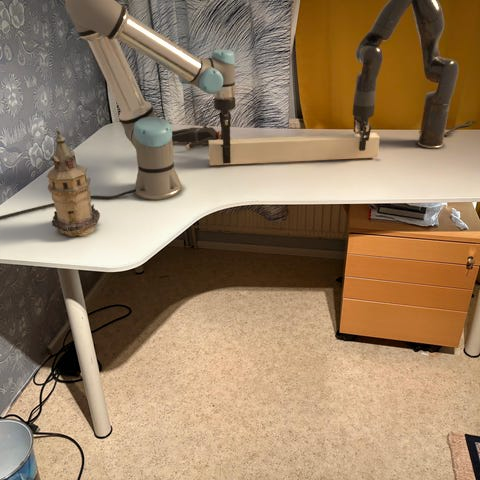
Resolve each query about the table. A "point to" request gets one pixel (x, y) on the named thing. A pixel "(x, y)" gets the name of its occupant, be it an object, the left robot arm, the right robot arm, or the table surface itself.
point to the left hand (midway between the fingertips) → (226, 160)
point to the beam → (294, 149)
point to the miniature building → (70, 193)
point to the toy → (196, 136)
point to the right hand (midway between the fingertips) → (359, 147)
